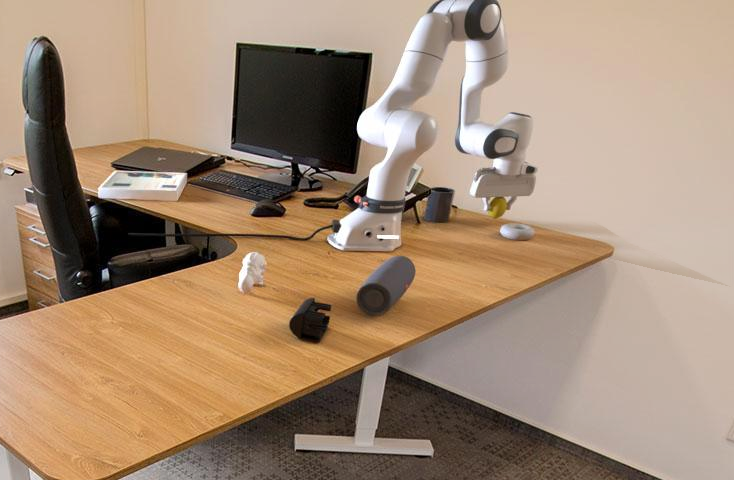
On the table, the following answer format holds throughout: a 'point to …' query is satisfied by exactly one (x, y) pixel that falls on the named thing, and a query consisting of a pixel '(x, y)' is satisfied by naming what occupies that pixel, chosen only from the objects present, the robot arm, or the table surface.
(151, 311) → the table surface
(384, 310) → the bluetooth speaker
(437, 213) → the pen cup
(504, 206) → the lemon
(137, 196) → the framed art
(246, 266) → the white figurine
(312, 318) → the end cap
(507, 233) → the donut
